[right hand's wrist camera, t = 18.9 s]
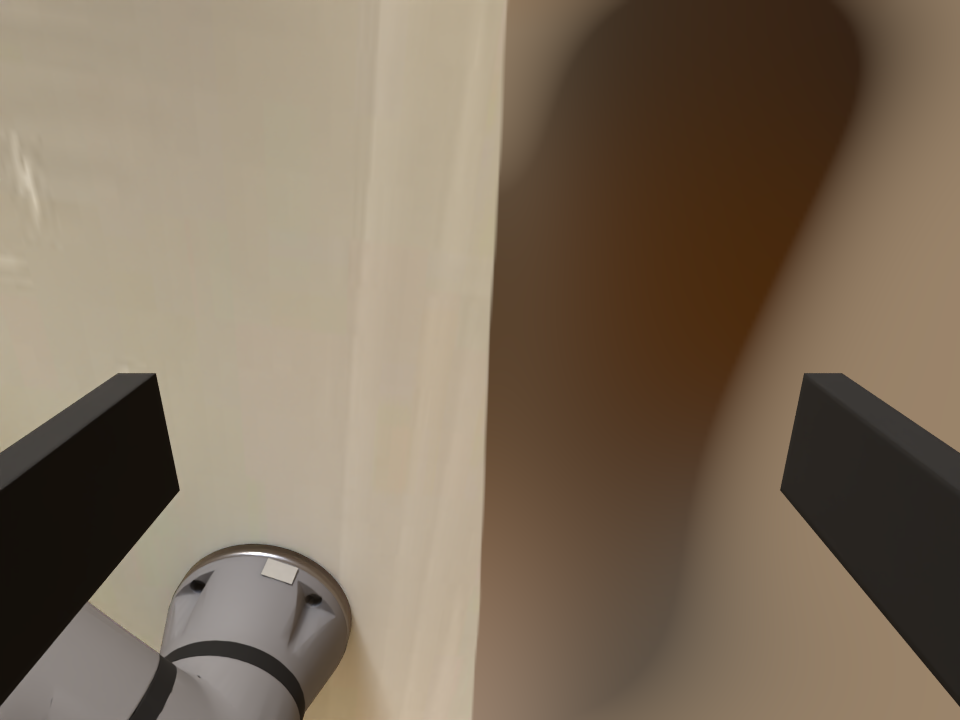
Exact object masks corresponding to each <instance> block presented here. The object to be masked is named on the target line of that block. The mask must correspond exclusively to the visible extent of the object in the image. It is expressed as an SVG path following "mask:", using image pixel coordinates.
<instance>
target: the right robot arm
mask: <svg viewBox="0 0 960 720" xmlns="http://www.w3.org/2000/svg"><path fill="white" fill-rule="evenodd" d="M780 490H781V492H782V493H783V494H784V495H785V497H786V498H787V499H788V500H789V501H790V503H791V504H792V505H793V506H794V507H795V509H796V510H797V511H798V512H799V513H800V515H801V516H802V517H803V518H804V519H805V521H806V522H807V523H808V524H809V526H810V527H811V528H812V529H813V530H814V532H815V533H816V534H817V535H818V536H819V538H820V539H821V540H822V541H823V542H824V544H825V545H826V546H827V547H828V548H829V550H830V551H831V552H832V553H833V554H834V556H835V557H836V558H837V559H838V560H839V562H840V563H841V564H842V565H843V567H844V568H845V569H846V570H847V571H848V573H849V574H850V575H851V576H852V577H853V579H854V580H855V581H856V582H857V583H858V585H859V586H860V587H861V588H862V589H863V591H864V592H865V593H866V594H867V595H868V597H869V598H870V599H871V600H872V601H873V603H874V604H875V605H876V606H877V607H878V609H879V610H880V611H881V612H882V613H883V615H884V616H885V617H886V618H887V620H888V621H889V622H890V623H891V624H892V626H893V627H894V628H895V629H896V630H897V632H898V633H899V634H900V635H901V636H902V638H903V639H904V640H905V641H906V642H907V644H908V645H909V646H910V647H911V648H912V650H913V651H914V652H915V653H916V654H917V656H918V657H919V658H920V659H921V661H922V662H923V663H924V664H925V665H926V667H927V668H928V669H929V670H930V671H931V672H932V674H933V675H934V676H935V677H936V679H937V680H938V681H939V682H940V683H941V685H942V686H943V687H944V688H945V689H946V691H947V692H948V693H949V694H950V695H951V697H952V698H953V699H954V700H955V701H956V703H957V704H958V705H959V706H960V453H959V452H957V451H956V450H955V449H953V448H952V447H950V446H949V445H947V444H946V443H944V442H943V441H941V440H940V439H938V438H937V437H935V436H934V435H932V434H931V433H929V432H928V431H926V430H925V429H923V428H922V427H921V426H919V425H917V424H916V423H915V422H913V421H912V420H910V419H909V418H907V417H906V416H904V415H903V414H901V413H900V412H898V411H897V410H895V409H894V408H892V407H891V406H890V405H888V404H886V403H885V402H884V401H882V400H881V399H879V398H878V397H876V396H875V395H873V394H872V393H870V392H869V391H867V390H866V389H864V388H863V387H861V386H860V385H858V384H857V383H856V382H854V381H853V380H851V379H850V378H848V377H847V376H845V375H844V374H842V373H804V377H803V382H802V387H801V391H800V396H799V401H798V406H797V411H796V416H795V421H794V425H793V430H792V435H791V440H790V445H789V450H788V455H787V460H786V464H785V469H784V474H783V479H782V484H781V489H780ZM179 491H180V489H179V484H178V479H177V474H176V469H175V464H174V460H173V455H172V450H171V445H170V440H169V435H168V430H167V425H166V421H165V416H164V411H163V406H162V401H161V396H160V391H159V386H158V382H157V377H156V373H118V374H116V375H115V376H113V377H112V378H110V379H109V380H107V381H106V382H104V383H103V384H102V385H100V386H99V387H97V388H96V389H94V390H93V391H91V392H90V393H88V394H87V395H85V396H84V397H82V398H81V399H79V400H78V401H76V402H75V403H73V404H72V405H70V406H69V407H68V408H66V409H65V410H63V411H62V412H60V413H59V414H57V415H56V416H54V417H53V418H51V419H50V420H48V421H47V422H45V423H44V424H42V425H41V426H39V427H38V428H37V429H35V430H34V431H32V432H31V433H29V434H28V435H26V436H25V437H23V438H22V439H20V440H19V441H17V442H16V443H14V444H13V445H11V446H10V447H8V448H7V449H5V450H4V451H3V452H1V453H0V720H303V717H304V714H305V711H306V710H307V708H308V707H309V706H310V704H311V703H312V701H313V700H314V699H315V697H316V696H317V694H318V693H319V692H320V690H321V689H322V687H323V686H324V685H325V683H326V682H327V680H328V679H329V678H330V676H331V675H332V673H333V672H334V671H335V669H336V668H337V666H338V664H339V663H340V660H341V659H342V657H343V655H344V652H345V650H346V646H347V643H348V639H349V635H350V631H351V611H350V606H349V603H348V600H347V598H346V596H345V594H344V592H343V590H342V588H341V587H340V585H339V584H338V583H337V581H336V580H335V579H334V578H333V577H332V576H331V575H330V574H329V573H328V572H327V571H326V570H325V569H324V568H322V567H321V566H320V565H318V564H317V563H315V562H314V561H312V560H311V559H309V558H307V557H305V556H303V555H301V554H298V553H296V552H294V551H291V550H288V549H284V548H280V547H276V546H270V545H261V544H246V545H237V546H231V547H228V548H224V549H221V550H218V551H216V552H213V553H211V554H209V555H208V556H206V557H204V558H203V559H201V560H200V561H199V562H197V563H196V564H195V565H194V566H193V567H192V568H191V569H190V570H189V572H188V573H187V574H186V576H185V577H184V579H183V580H182V582H181V583H180V585H179V586H178V588H177V590H176V591H175V593H174V595H173V598H172V601H171V603H170V606H169V610H168V614H167V619H166V625H165V630H164V635H163V640H162V645H161V650H160V654H159V653H158V652H156V651H155V650H154V649H152V648H151V647H149V646H148V645H147V644H145V643H144V642H142V641H141V640H140V639H138V638H137V637H135V636H134V635H133V634H131V633H130V632H128V631H127V630H126V629H124V628H123V627H122V626H120V625H119V624H118V623H116V622H115V621H114V620H112V619H111V618H109V617H108V616H107V615H105V614H104V613H103V612H101V611H100V610H99V609H97V608H96V607H95V606H93V605H92V604H91V603H89V602H88V600H89V599H90V598H91V597H92V595H93V594H94V593H95V592H96V591H97V589H98V588H99V587H100V586H101V585H102V583H103V582H104V581H105V580H106V579H107V577H108V576H109V575H110V574H111V573H112V571H113V570H114V569H115V568H116V567H117V565H118V564H119V563H120V562H121V560H122V559H123V558H124V557H125V556H126V554H127V553H128V552H129V551H130V550H131V548H132V547H133V546H134V545H135V544H136V542H137V541H138V540H139V539H140V538H141V536H142V535H143V534H144V533H145V532H146V530H147V529H148V528H149V527H150V526H151V524H152V523H153V522H154V521H155V519H156V518H157V517H158V516H159V515H160V513H161V512H162V511H163V510H164V509H165V507H166V506H167V505H168V504H169V503H170V501H171V500H172V499H173V498H174V497H175V495H176V494H177V493H178V492H179Z"/></svg>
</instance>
